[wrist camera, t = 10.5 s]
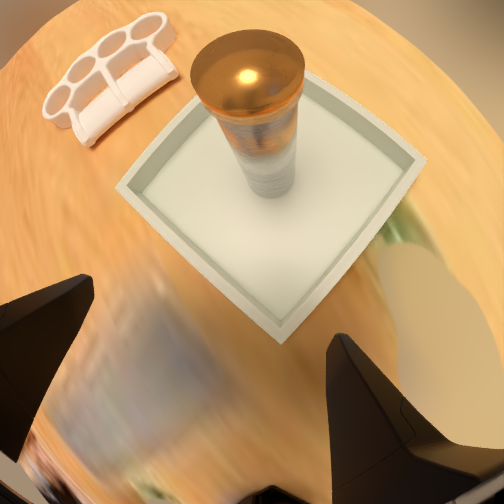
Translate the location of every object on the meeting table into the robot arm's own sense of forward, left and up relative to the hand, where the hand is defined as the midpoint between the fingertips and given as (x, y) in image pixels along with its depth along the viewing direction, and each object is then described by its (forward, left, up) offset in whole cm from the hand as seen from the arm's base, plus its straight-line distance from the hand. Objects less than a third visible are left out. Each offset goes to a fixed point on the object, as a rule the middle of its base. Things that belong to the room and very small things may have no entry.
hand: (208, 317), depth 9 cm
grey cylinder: (+5, -7, -11) cm, 14 cm away
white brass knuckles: (+27, -7, -13) cm, 30 cm away
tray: (+5, -7, -12) cm, 15 cm away
